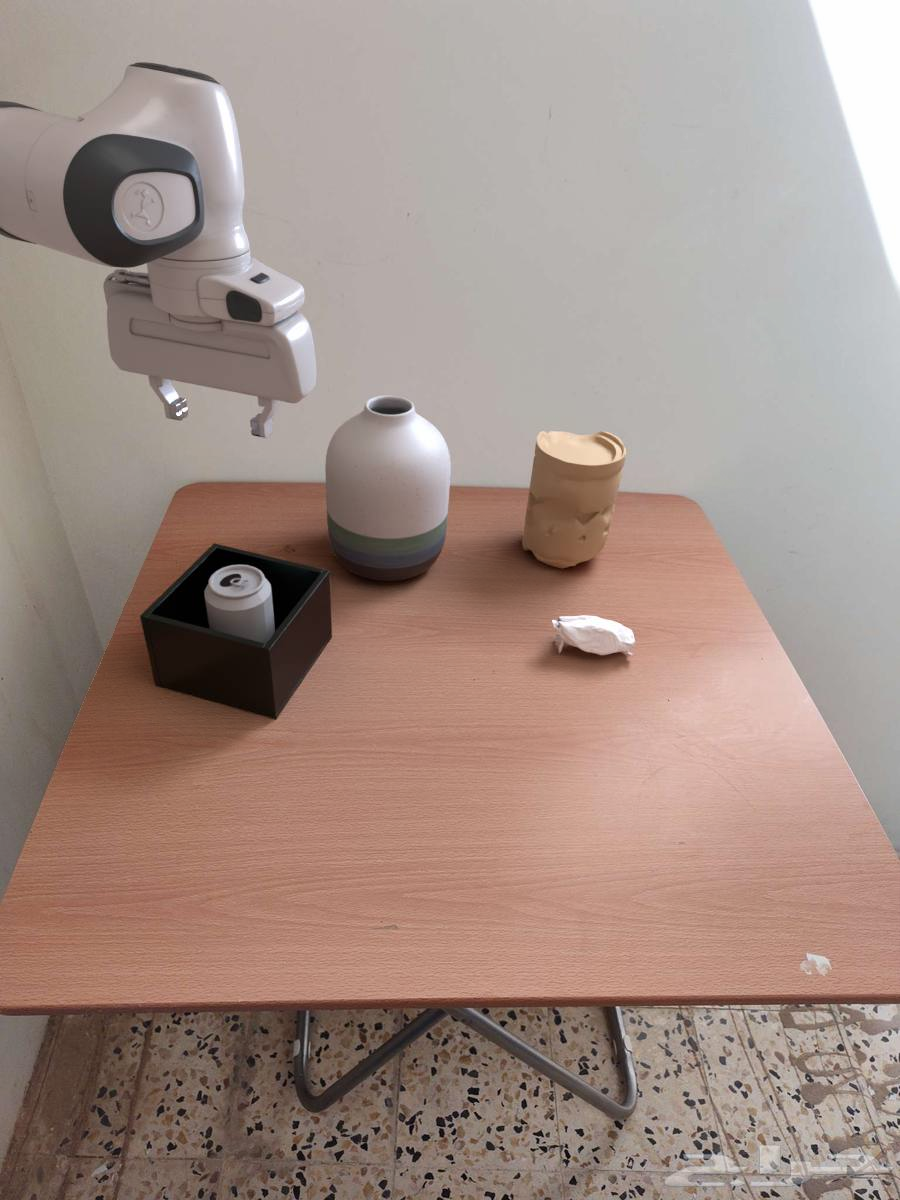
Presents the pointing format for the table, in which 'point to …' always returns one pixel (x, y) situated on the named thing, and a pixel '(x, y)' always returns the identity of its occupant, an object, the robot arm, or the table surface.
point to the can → (240, 603)
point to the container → (572, 496)
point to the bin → (232, 663)
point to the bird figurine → (594, 634)
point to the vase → (387, 491)
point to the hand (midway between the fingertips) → (219, 426)
